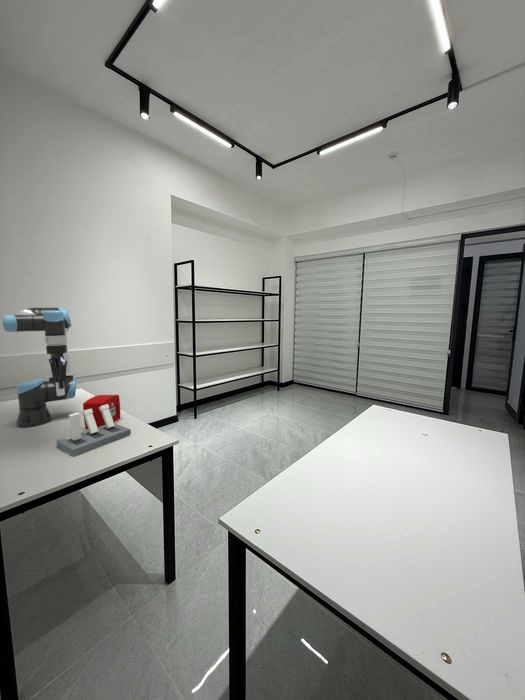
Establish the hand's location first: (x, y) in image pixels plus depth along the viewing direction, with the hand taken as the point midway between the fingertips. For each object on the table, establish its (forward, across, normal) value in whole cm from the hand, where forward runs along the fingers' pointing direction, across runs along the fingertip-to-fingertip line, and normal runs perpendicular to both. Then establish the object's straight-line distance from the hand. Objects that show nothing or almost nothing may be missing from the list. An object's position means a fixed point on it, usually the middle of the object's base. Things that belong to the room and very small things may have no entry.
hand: (60, 395), depth 134 cm
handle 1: (+19, +12, +8) cm, 24 cm away
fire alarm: (+23, -6, +22) cm, 32 cm away
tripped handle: (+19, +12, 0) cm, 23 cm away
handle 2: (+19, +12, +16) cm, 28 cm away
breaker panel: (+22, +12, +8) cm, 27 cm away
